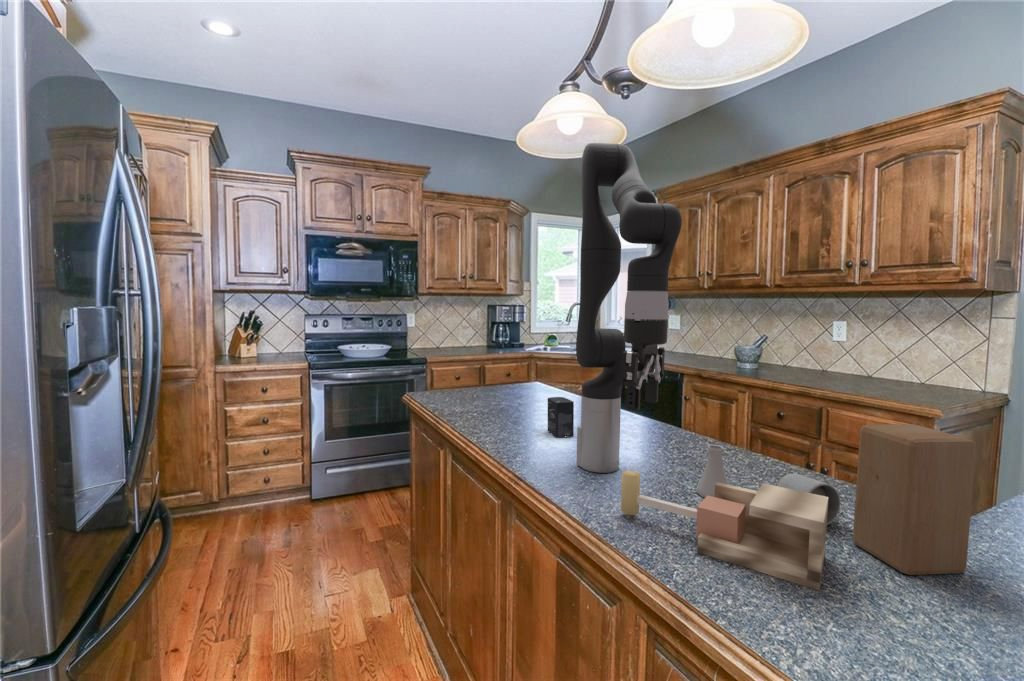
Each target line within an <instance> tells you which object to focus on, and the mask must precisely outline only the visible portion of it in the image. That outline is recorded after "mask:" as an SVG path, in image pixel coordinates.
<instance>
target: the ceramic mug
mask: <svg viewBox="0 0 1024 681" xmlns="http://www.w3.org/2000/svg"><path fill="white" fill-rule="evenodd" d="M775 486H778V487H783V488H788V489H793V490H797V491H802V492H807V493H812V494H816V495H821V496H826V497H828V514H827V526H828V525H830V524H831V523H832V522H834V521H835V519H836V518H837V516H838V514H839V512H840V509H841V508H840V507H841V500H840V495H839V492H838V490H837V489H836V488H835V487H834V486H833V485H831V484H830V483H827V482H824V481H821V480H818V479H814V478H811V477H808V476H806V475H803V474H798V473H788V474H787V473H786V474H785V475H783V476H782V477H780V478H779V480H778V481H777V483H776V485H775Z"/></svg>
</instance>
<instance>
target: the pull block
mask: <svg viewBox="0 0 1024 681" xmlns="http://www.w3.org/2000/svg"><path fill="white" fill-rule="evenodd" d="M620 496H621V497H620V500H621V502H620V511H621V512H622V513H623V514H625V515H630V516H633V515H634V516H635V515H639V513H640V505H644V506H647V507H650V508H655V509H658V510H662V511H664V512H669V513H672V514H676V515H679V516H683V517H687V518H691V519H694V520H696V527H695V528H696V529H695V537H696V538H698V536H699V535H700V533H702V534H705V535H708V536H712V537H715V538H719V539H722V540H726V541H729V542H733V543H736V544H739V543H740V541H741V539H742V538H743V536H744V530H745V510H746V505H745V504H741V503H737V502H733V501H729V500H725V499H720V498H716V497H712V496H708V495H707V496H706V497H704V498H703V499H702V501H701V502H700V503H699V504H698V506H696V508H693V507H690V506H686V505H683V504H682V505H681V504H678V503H674V502H670V501H667V500H663V499H658V498H655V497H652V496H647V495H643V494H641V473H640V472H639V471H635V470H623V471H622V472H621V495H620Z"/></svg>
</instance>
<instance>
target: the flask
mask: <svg viewBox="0 0 1024 681" xmlns="http://www.w3.org/2000/svg"><path fill="white" fill-rule="evenodd" d="M706 448H707V450H708V456H707V460H706V465H705V467H704V469H703V472H702V475H701V477H700V480H699V482H698V484H697V486H696V489H694V490H695V493H697V494H698V495H699V496H701V497H702V498H705V497H706V496H707V495H708V496H712V497H714V494H715V484H716V483H717V482H719V483H723V484H728V485H730V484H729V480H728V477H727V474H726V470H725V467H724V461H723V451H724V450H725V447H723V446H722V445H718V444H708V445H707V447H706Z"/></svg>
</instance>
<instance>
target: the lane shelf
mask: <svg viewBox="0 0 1024 681" xmlns="http://www.w3.org/2000/svg"><path fill="white" fill-rule="evenodd" d="M714 497H716V498H720V499H725V500H729V501H733V502H737V503H741V504H745V505H746V510H745V530H744V536H743V538H742V539H741V541H740V543H739V544H736V543H733V542H729V541H726V540H722V539H719V538H715V537H712V536H708V535H705V534H702V533H700V535H699V536H698V537H697V546H696V547H697V550H696V552H697V553H698V554H701V555H705V556H707V557H710V558H714V559H717V560H721V561H724V562H727V563H730V564H733V565H736V566H740V567H742V568H745V569H750V570H753V571H755V572H758V573H762V574H765V575H769V576H772V577H775V578H777V579H781V580H784V581H788V582H790V583H794V584H798V585H800V586H804V587H806V588H810V589H813V590H817V591H820V590H821V582H822V576H823V573H824V572H823V570H824V564H825V558H826V545H827V544H826V543H827V530H828V529H827V528H828V525H827V514H828V497H826V496H821V495H816V494H812V493H807V492H802V491H797V490H793V489H788V488H783V487H778V486H776V485H774V484H773V485H772V484H769V483H762V484H761V486H760V487H759V489H758V490H754V489H749V488H744V487H741V486H737V485H731V484H729V485H728V484H723V483H719V482H717V483H716V484H715V494H714Z"/></svg>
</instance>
